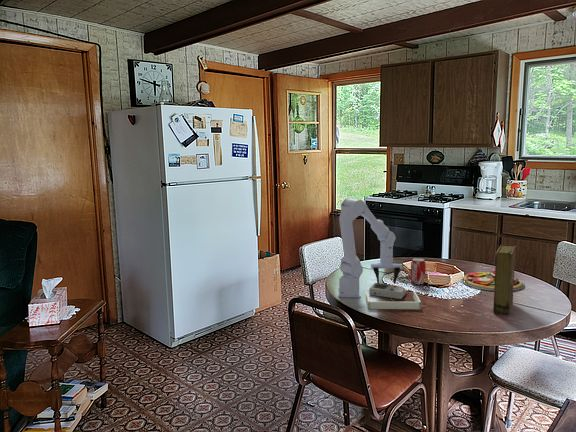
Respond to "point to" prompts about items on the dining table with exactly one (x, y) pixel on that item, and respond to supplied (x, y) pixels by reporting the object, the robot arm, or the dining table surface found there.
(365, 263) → the dining table surface
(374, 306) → the white tray
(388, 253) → the robot arm
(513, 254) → the book
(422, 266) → the soda can
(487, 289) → the toy pizza
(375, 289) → the handheld gaming device
